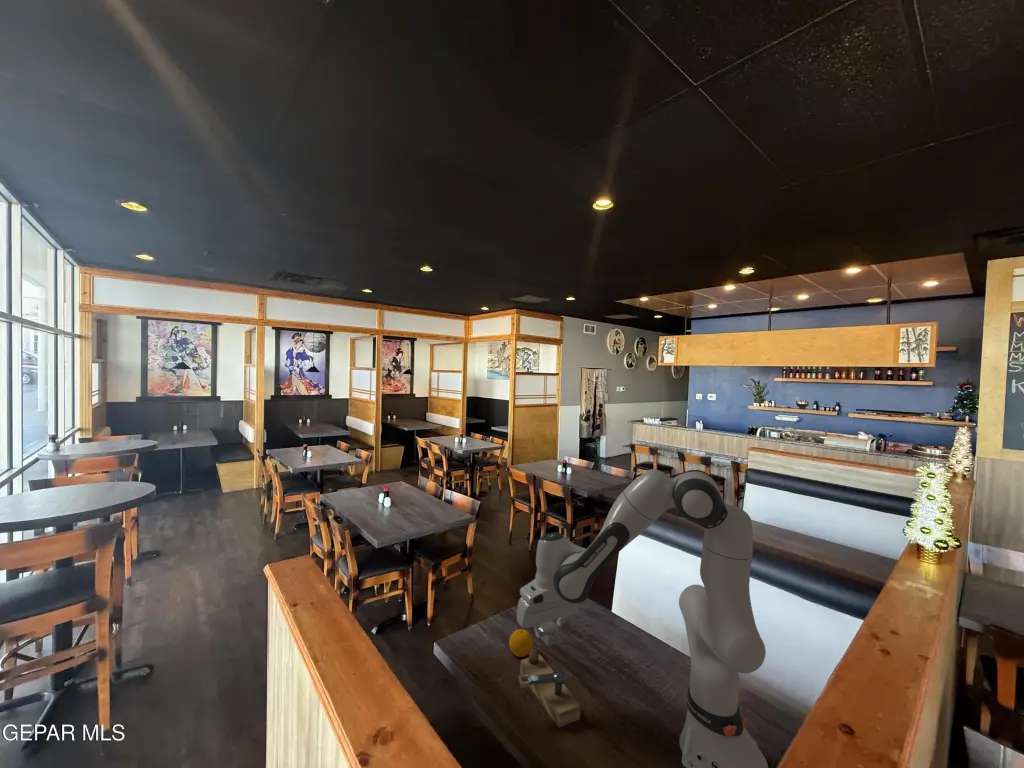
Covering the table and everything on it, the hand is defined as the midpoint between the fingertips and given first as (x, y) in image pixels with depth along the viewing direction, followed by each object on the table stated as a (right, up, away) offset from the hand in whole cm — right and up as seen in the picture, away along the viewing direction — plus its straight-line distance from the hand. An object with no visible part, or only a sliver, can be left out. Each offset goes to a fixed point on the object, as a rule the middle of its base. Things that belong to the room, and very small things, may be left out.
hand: (548, 633), depth 123 cm
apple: (-8, -17, +16) cm, 24 cm away
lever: (-2, -9, -7) cm, 12 cm away
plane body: (0, -17, -1) cm, 17 cm away
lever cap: (0, -1, 0) cm, 1 cm away
